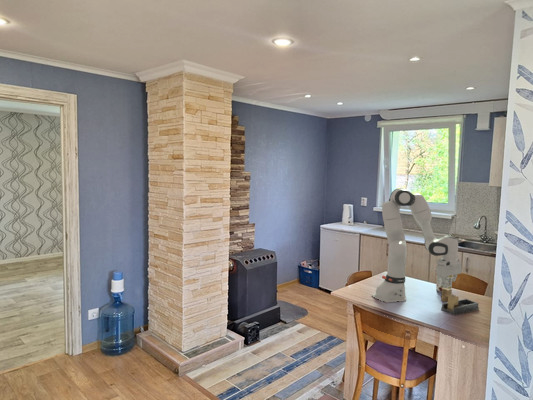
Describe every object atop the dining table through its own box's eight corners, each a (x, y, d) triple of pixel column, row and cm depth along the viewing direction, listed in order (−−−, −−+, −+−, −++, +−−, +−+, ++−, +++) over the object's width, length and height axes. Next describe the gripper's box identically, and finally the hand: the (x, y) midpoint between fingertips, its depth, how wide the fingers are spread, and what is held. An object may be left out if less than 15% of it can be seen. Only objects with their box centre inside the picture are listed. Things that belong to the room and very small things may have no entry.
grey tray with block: (454, 315, 214) (455, 299, 213) (441, 309, 222) (442, 294, 221) (478, 309, 224) (479, 294, 223) (464, 304, 232) (466, 289, 231)
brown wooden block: (450, 301, 237) (451, 289, 236) (446, 302, 235) (447, 290, 234) (444, 299, 241) (445, 287, 240) (440, 299, 239) (441, 288, 238)
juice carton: (445, 294, 250) (448, 267, 248) (434, 290, 257) (436, 264, 255) (452, 292, 253) (454, 265, 252) (441, 288, 261) (443, 262, 259)
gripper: (456, 258, 242) (455, 278, 243) (434, 261, 233) (433, 282, 234) (464, 260, 237) (463, 281, 238) (443, 263, 228) (442, 285, 229)
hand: (448, 281), depth 236 cm, fingers open, 8 cm apart
